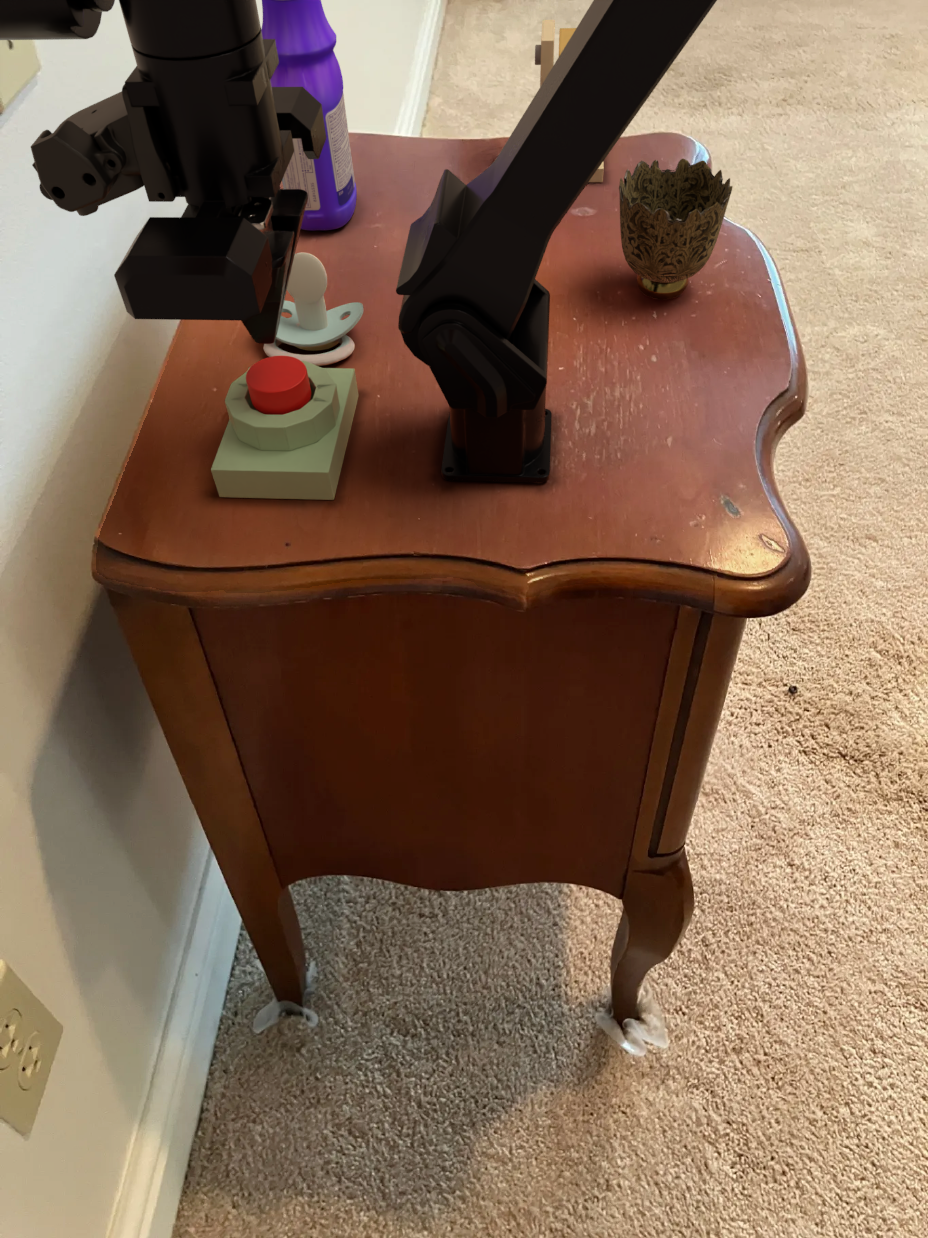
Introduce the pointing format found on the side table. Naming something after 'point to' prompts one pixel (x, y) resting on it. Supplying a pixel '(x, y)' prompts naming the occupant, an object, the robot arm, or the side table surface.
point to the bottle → (316, 69)
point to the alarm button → (278, 385)
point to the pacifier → (314, 316)
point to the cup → (670, 223)
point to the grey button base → (287, 441)
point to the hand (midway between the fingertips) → (266, 339)
